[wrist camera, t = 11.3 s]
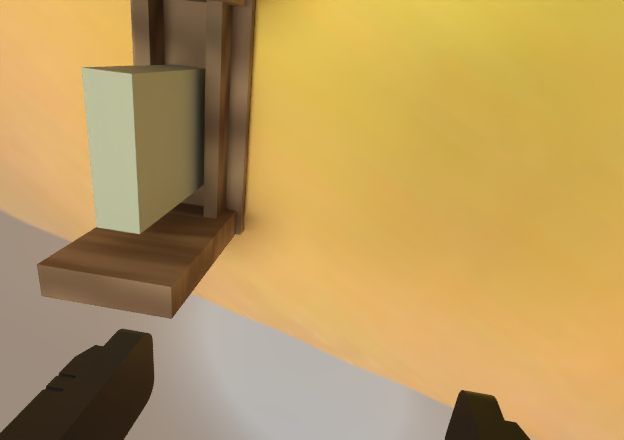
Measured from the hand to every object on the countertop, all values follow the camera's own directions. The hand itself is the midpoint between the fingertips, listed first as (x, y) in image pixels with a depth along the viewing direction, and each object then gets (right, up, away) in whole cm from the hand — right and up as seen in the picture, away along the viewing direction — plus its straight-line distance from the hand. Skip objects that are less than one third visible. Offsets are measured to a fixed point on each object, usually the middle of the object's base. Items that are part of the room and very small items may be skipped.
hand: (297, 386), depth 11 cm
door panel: (-10, +13, +26) cm, 31 cm away
